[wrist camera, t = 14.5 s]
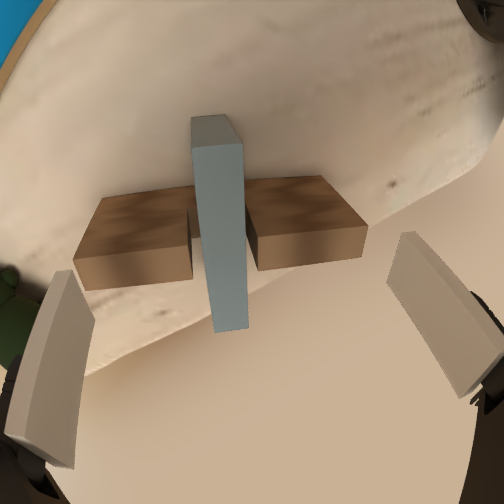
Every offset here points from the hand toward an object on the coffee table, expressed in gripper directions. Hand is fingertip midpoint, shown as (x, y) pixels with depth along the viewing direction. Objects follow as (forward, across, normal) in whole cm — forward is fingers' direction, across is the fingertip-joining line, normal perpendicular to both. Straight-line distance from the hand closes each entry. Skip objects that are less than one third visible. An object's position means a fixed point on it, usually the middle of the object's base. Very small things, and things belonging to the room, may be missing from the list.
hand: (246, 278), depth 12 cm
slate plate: (+19, 0, +6) cm, 19 cm away
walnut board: (+19, 0, +6) cm, 20 cm away
